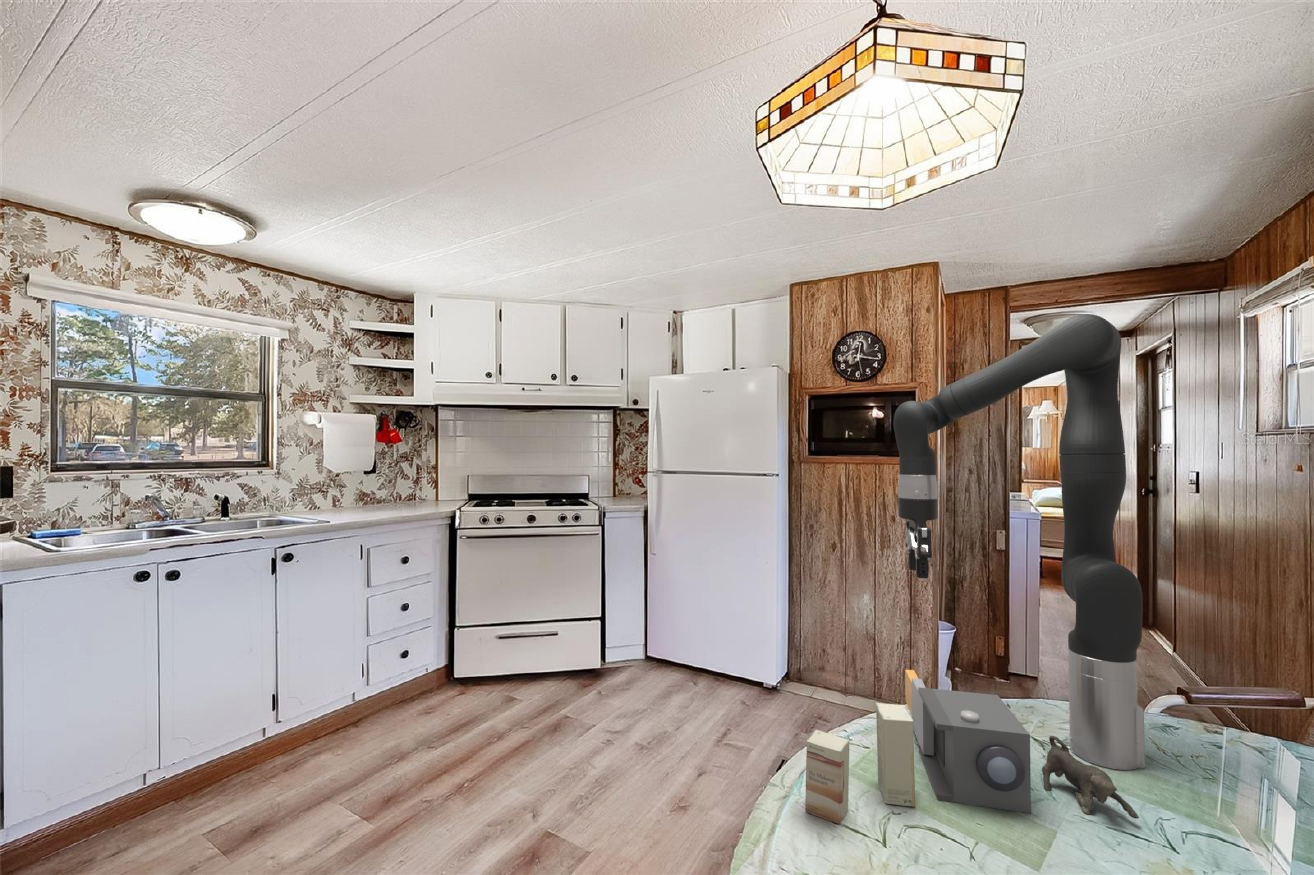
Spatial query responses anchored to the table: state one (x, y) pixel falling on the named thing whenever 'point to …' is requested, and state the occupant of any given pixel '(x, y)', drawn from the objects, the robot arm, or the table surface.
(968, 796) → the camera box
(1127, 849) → the table surface
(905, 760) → the skincare box
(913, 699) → the door
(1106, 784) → the dog figurine
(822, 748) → the skincare box
